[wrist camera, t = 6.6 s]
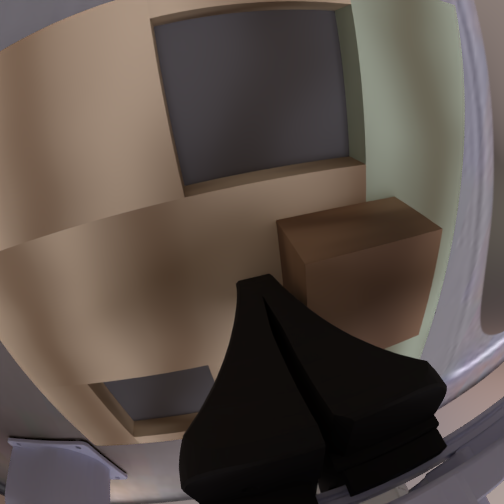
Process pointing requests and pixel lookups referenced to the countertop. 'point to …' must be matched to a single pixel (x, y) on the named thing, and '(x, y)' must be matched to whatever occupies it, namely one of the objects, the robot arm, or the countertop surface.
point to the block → (362, 267)
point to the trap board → (201, 179)
